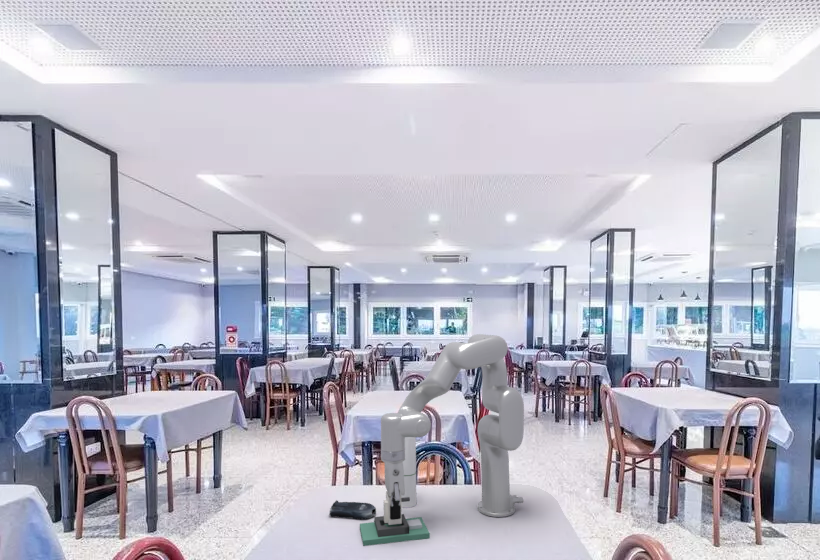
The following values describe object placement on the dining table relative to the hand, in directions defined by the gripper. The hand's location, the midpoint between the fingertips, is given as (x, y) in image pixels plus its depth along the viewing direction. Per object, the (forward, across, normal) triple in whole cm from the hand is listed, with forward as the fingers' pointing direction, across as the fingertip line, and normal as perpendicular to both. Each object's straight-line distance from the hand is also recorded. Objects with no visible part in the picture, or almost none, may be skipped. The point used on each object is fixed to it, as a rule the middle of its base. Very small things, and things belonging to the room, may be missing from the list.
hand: (393, 514), depth 139 cm
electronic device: (+6, +17, +11) cm, 21 cm away
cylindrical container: (+6, +20, -8) cm, 23 cm away
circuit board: (+6, 0, 0) cm, 6 cm away
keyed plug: (+2, 0, 0) cm, 2 cm away
